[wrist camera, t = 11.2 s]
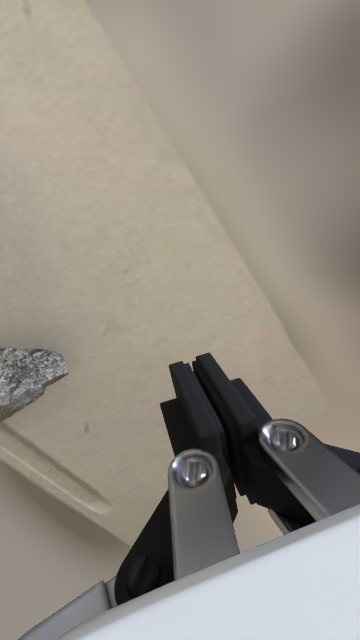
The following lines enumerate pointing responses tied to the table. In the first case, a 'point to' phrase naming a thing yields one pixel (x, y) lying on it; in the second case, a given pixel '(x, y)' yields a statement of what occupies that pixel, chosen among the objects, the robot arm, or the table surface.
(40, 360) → the rock
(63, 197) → the table surface
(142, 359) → the table surface
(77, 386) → the table surface
